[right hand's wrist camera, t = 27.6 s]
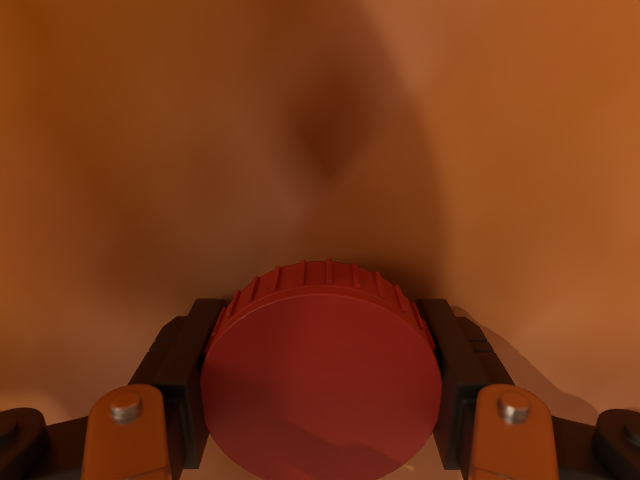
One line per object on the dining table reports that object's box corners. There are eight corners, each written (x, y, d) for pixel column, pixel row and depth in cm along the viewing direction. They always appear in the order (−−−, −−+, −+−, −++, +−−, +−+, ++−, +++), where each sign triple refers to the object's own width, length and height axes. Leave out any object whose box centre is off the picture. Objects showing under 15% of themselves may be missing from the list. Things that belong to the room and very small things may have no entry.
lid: (257, 459, 12) (248, 514, 11) (175, 294, 10) (150, 332, 9) (449, 412, 12) (468, 463, 10) (399, 228, 10) (414, 256, 8)
